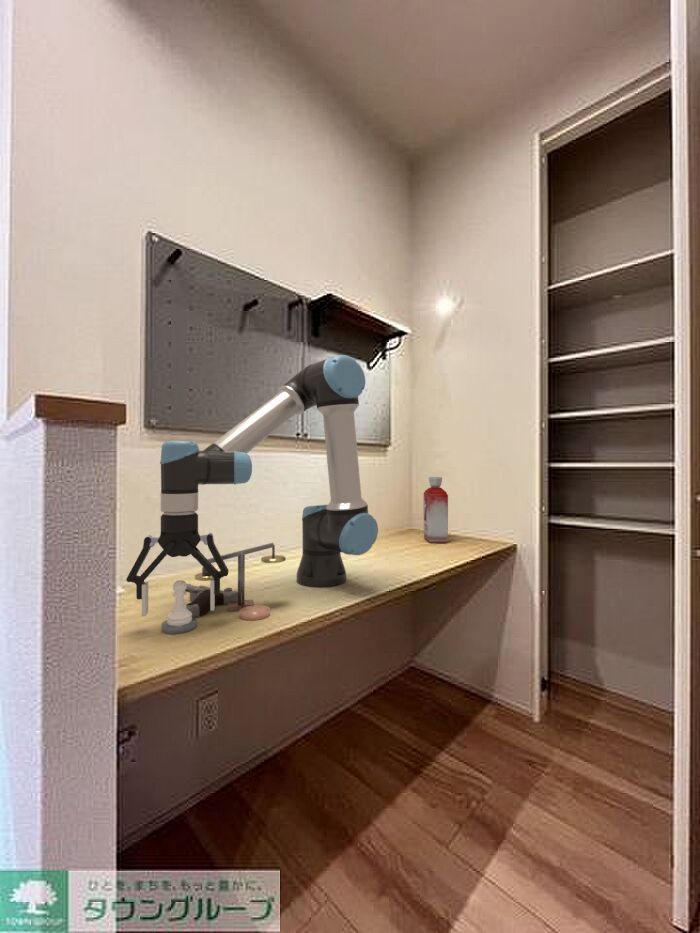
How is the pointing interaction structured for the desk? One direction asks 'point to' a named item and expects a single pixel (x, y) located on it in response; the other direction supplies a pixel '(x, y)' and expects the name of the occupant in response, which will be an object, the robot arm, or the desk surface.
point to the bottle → (435, 512)
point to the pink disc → (254, 612)
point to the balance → (242, 573)
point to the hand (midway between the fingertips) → (179, 611)
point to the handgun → (207, 599)
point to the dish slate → (179, 627)
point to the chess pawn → (179, 606)
